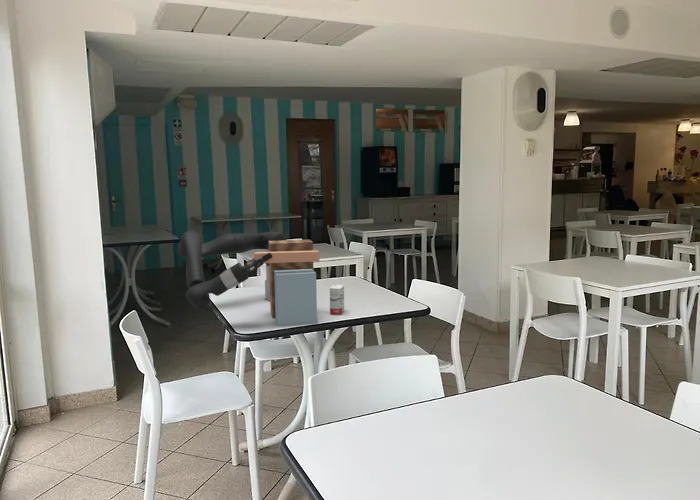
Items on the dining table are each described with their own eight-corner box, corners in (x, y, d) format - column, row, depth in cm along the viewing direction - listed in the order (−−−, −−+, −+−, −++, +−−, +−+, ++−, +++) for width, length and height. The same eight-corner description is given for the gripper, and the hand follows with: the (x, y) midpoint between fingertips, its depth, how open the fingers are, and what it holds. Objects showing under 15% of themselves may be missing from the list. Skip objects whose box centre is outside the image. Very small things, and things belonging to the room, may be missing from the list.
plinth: (272, 318, 234) (270, 243, 230) (270, 312, 244) (268, 240, 240) (314, 315, 238) (312, 242, 234) (310, 309, 248) (309, 239, 244)
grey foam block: (277, 326, 222) (276, 274, 219) (275, 319, 232) (274, 270, 229) (317, 323, 225) (316, 272, 223) (313, 317, 235) (312, 268, 232)
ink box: (340, 315, 238) (340, 288, 237) (329, 314, 239) (329, 288, 238) (344, 310, 247) (344, 284, 245) (334, 309, 248) (333, 284, 246)
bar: (255, 263, 220) (254, 253, 219) (254, 262, 223) (254, 252, 223) (319, 261, 225) (319, 251, 225) (317, 259, 229) (317, 250, 229)
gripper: (229, 271, 213) (267, 248, 215) (228, 265, 226) (264, 243, 229) (239, 287, 214) (277, 264, 216) (238, 280, 228) (274, 259, 230)
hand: (270, 254), depth 222 cm, fingers closed on bar, 4 cm apart
